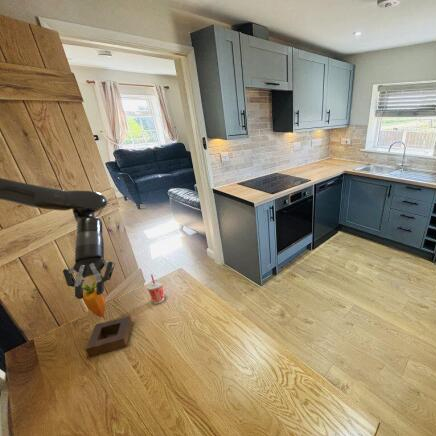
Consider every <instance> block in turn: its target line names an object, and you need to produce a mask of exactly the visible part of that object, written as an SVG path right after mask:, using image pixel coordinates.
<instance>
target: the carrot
mask: <svg viewBox="0 0 436 436" xmlns="http://www.w3.org/2000/svg"><path fill="white" fill-rule="evenodd" d="M95 284H96V280H92V282H91V286H90V285H88V284H85V283H84V284H83V286H82V288H83V291H85V292H84V293H83V298H82V300H83V302H84V304H85V305H86V307H87V309H88V310H89V311H90V312H91V314H93V315H94V316H97V317H99V318H103V317H104V316H105V313H106V300H105V297H104V294H103V293H102V295H97V287H96V285H95Z"/></svg>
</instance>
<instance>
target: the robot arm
mask: <svg viewBox="0 0 436 436" xmlns="http://www.w3.org/2000/svg"><path fill="white" fill-rule="evenodd" d="M0 200H1V201H4V202H5V201H6V202H10V203H14V204H17V205H22V206H25V207H31V208H35V209H42V210H53V211H71V210H72V214H73V217H74V220H75V222H76V236H75V242H74V243H75V245H74V247H75V248H74V249H75V251H74V265H73V267H70V268H65V269H63V270H62V273H63V276H64V279H65V282H66V285H67V286H68V287H72V288H74V297H75V298H76V299H77V300H83V296H84V289H83V288H82V287H83V286H84V284H85V281H86V280H87V278H88V277H90V276H94V278H95V281H96V282H97V283H96V282H95V284H96V287H95V288H96V289H97V295H102V294H103V293H104V292H105V283H106V282H107V281H110V280H111V278H112V275H113V272H114V269H115V265H116V264H115V262H113V261H105V242H104V241H105V240H104V235H103V234H104V232H103V231H104V230H103V228H104V226H103V221H102V219H101V218H100V217H98V216H95V214H96V213H98V212H100V211H102V210H103V209H105V208H106V207H107V205H108V200H107V198H106V197H105V195H103V194H102V193H100V192H97V191H93V190H67V189H62V188H55V187H50V186H45V185H44V186H43V185H39V184H38V185H37V184H31V183H26V182H21V181H16V180H12V179H7V178H2V177H0ZM103 268H105V271H104V275H103V273H102V269H103ZM75 272H76V273H77V274H76V277H74V274H75Z"/></svg>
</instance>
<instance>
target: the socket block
mask: <svg viewBox="0 0 436 436" xmlns="http://www.w3.org/2000/svg"><path fill="white" fill-rule="evenodd" d="M132 326H133V321H132V319H131V316H130V315H128V316H125V317H120V318H116V319H111V320H108V321H104V322H98V323H96V324H95V325H94V327H93V329H92V332H91V335H90V337H89V339H88V342H87V344H86V346H85V352H86V353H87V355H88V358H91V357H95V356H99V355H101V354H104V353H109V352H111V351H115V350H119V349H123V348H126V347H127V346H128V342H129V338H130V334H131V330H132ZM114 333H117V334H116V335H113V336H110V337H106V336H107V335H110V334H114ZM105 337H106V338H105Z"/></svg>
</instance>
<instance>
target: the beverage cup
mask: <svg viewBox="0 0 436 436" xmlns="http://www.w3.org/2000/svg"><path fill="white" fill-rule="evenodd" d="M150 276H151V281H149V282H147V284H146V285H145V287H146V290H147V291H148V294H149V296H150V298H151V300H152V303H153V304H154V305H157V304H161V303H163V302H164V300H165V294H164V287H163V281H162V280H161V279H154V275H153V274H150Z"/></svg>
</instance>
